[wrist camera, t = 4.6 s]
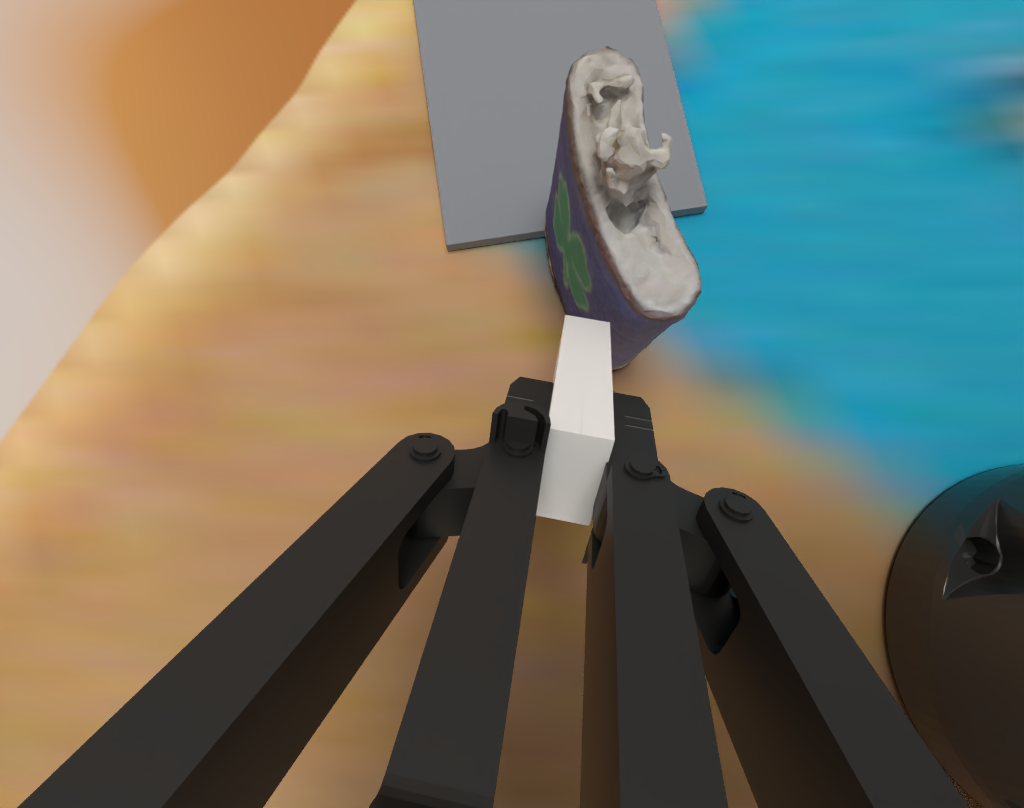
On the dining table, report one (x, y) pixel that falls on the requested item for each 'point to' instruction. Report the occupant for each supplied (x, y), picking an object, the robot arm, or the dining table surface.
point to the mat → (532, 105)
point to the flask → (615, 211)
